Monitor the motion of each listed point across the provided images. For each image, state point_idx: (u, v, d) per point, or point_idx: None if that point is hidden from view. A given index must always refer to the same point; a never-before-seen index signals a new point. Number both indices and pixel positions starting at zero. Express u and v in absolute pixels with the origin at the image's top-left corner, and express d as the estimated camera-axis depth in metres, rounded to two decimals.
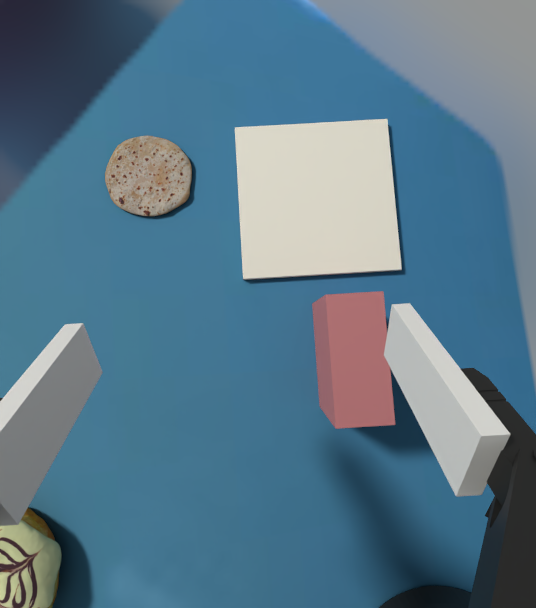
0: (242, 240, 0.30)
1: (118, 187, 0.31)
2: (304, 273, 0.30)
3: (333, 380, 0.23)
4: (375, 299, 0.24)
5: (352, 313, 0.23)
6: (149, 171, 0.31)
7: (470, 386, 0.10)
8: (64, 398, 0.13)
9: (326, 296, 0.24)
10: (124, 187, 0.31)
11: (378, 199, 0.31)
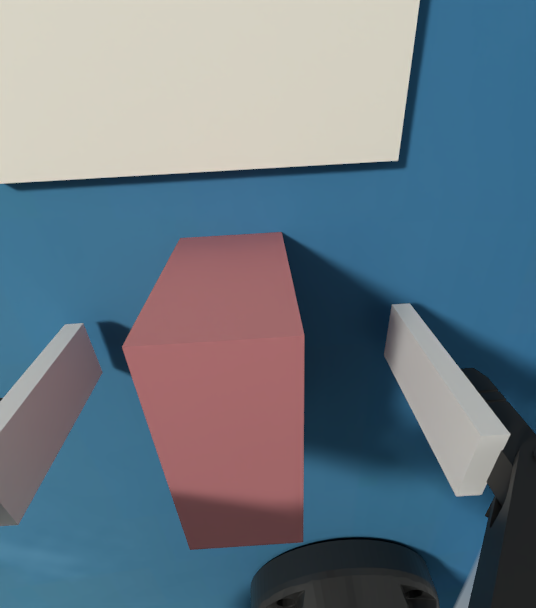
0: None
1: None
2: (144, 171, 0.11)
3: (175, 499, 0.10)
4: (279, 356, 0.08)
5: (211, 388, 0.08)
6: None
7: (470, 386, 0.10)
8: (64, 398, 0.13)
9: (125, 350, 0.08)
10: None
11: None
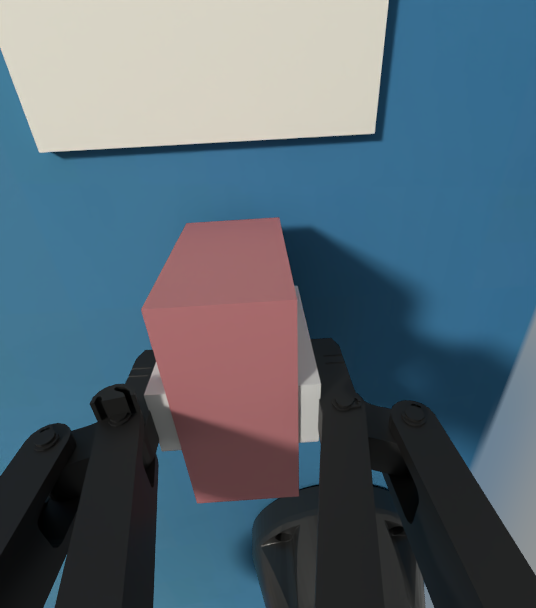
0: (4, 50, 0.12)
1: None
2: (168, 141, 0.14)
3: (184, 453, 0.12)
4: (275, 318, 0.09)
5: (217, 347, 0.09)
6: None
7: (309, 349, 0.12)
8: None
9: (144, 313, 0.09)
10: None
11: None
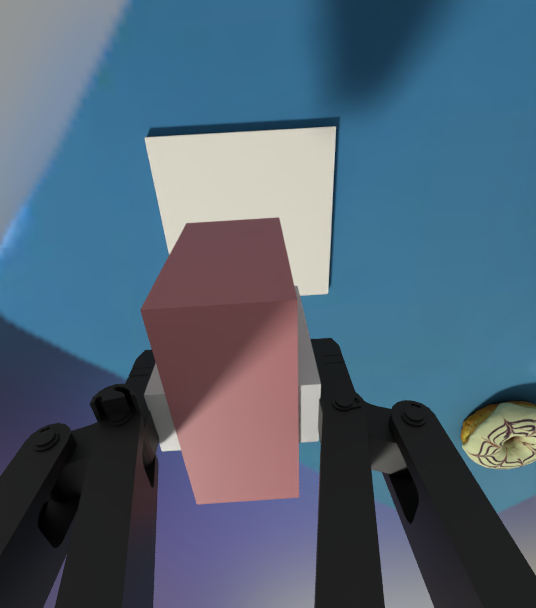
0: None
1: None
2: (329, 239, 0.29)
3: (184, 454, 0.12)
4: (275, 319, 0.09)
5: (217, 347, 0.09)
6: None
7: (309, 349, 0.12)
8: None
9: (143, 313, 0.09)
10: None
11: (248, 154, 0.26)
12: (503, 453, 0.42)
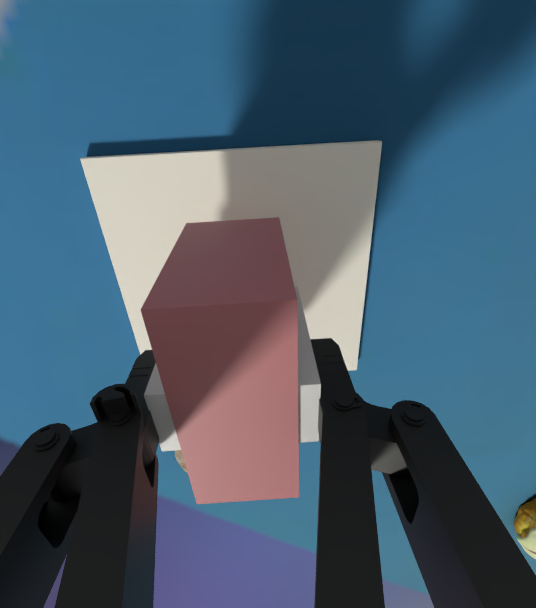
0: None
1: None
2: (362, 301, 0.20)
3: (184, 454, 0.12)
4: (275, 318, 0.09)
5: (217, 347, 0.09)
6: None
7: (309, 349, 0.12)
8: None
9: (143, 313, 0.09)
10: None
11: (245, 183, 0.17)
12: None
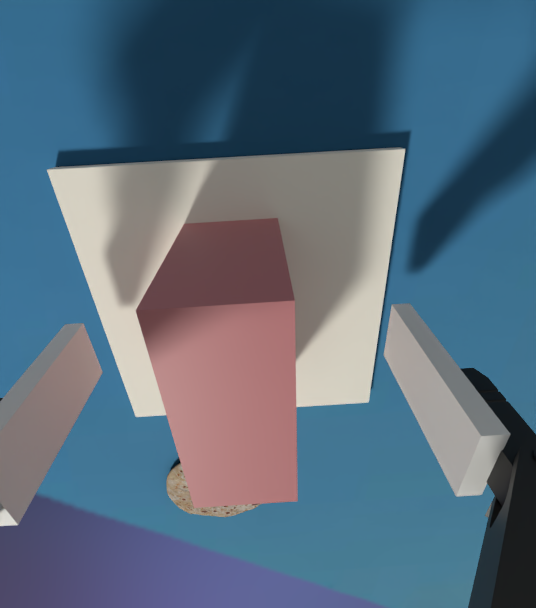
0: (311, 404, 0.20)
1: (239, 507, 0.26)
2: (376, 329, 0.18)
3: (181, 457, 0.12)
4: (273, 319, 0.09)
5: (213, 348, 0.09)
6: None
7: (470, 386, 0.10)
8: (64, 398, 0.13)
9: (138, 314, 0.09)
10: None
11: (243, 198, 0.14)
12: None
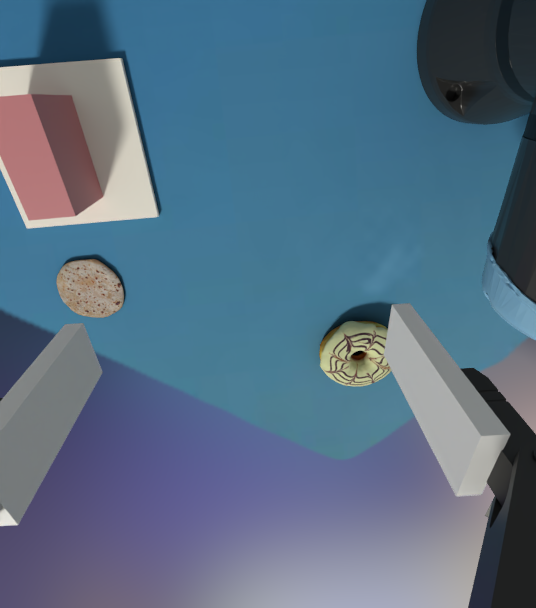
0: (125, 218, 0.37)
1: (108, 307, 0.42)
2: (144, 163, 0.34)
3: (12, 182, 0.28)
4: (25, 103, 0.25)
5: (8, 117, 0.25)
6: (86, 290, 0.41)
7: (470, 386, 0.10)
8: (64, 398, 0.13)
9: None
10: (107, 303, 0.42)
11: (51, 84, 0.30)
12: (353, 369, 0.47)
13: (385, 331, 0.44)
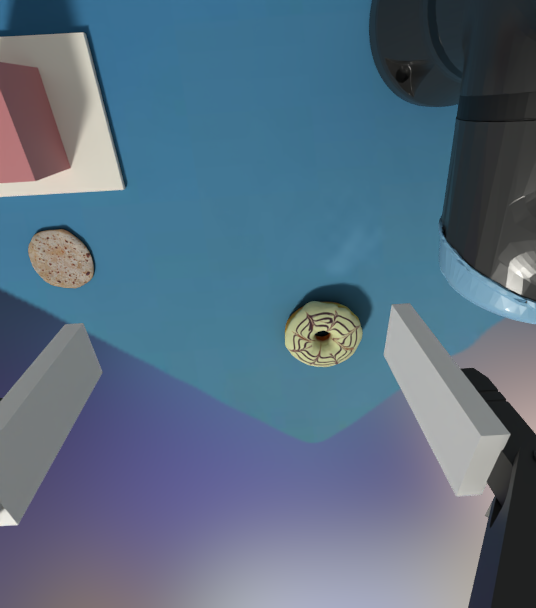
0: (92, 190, 0.38)
1: (79, 277, 0.44)
2: (108, 136, 0.36)
3: None
4: None
5: None
6: (57, 260, 0.42)
7: (470, 386, 0.10)
8: (64, 398, 0.13)
9: None
10: (77, 273, 0.44)
11: (18, 56, 0.32)
12: (316, 349, 0.48)
13: (347, 312, 0.45)
